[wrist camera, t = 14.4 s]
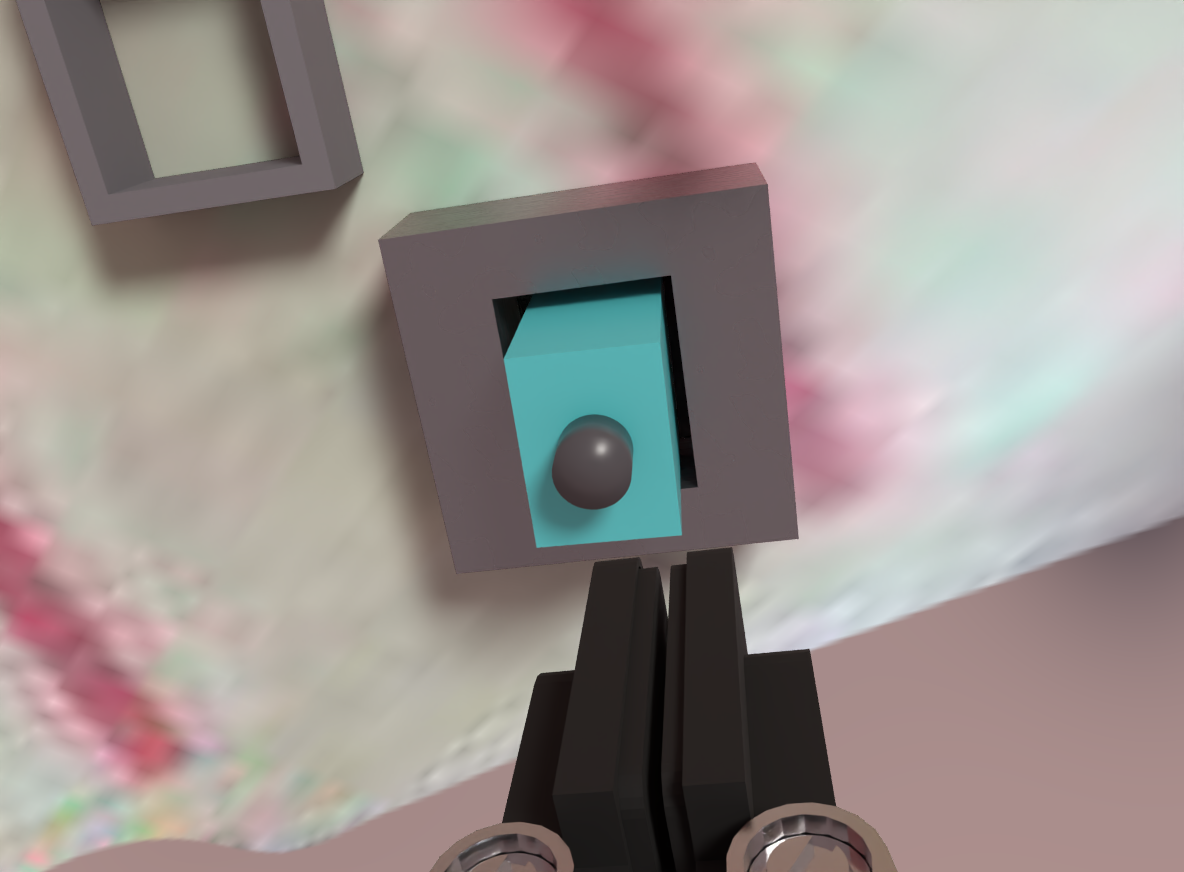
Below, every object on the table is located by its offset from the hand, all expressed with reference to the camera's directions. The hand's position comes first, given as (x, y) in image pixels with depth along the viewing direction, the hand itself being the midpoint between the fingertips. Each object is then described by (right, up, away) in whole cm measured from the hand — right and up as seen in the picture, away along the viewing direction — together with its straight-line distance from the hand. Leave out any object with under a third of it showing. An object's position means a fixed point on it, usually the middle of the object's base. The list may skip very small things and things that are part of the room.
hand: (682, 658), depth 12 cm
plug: (0, +5, +22) cm, 23 cm away
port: (-1, +5, +22) cm, 23 cm away
